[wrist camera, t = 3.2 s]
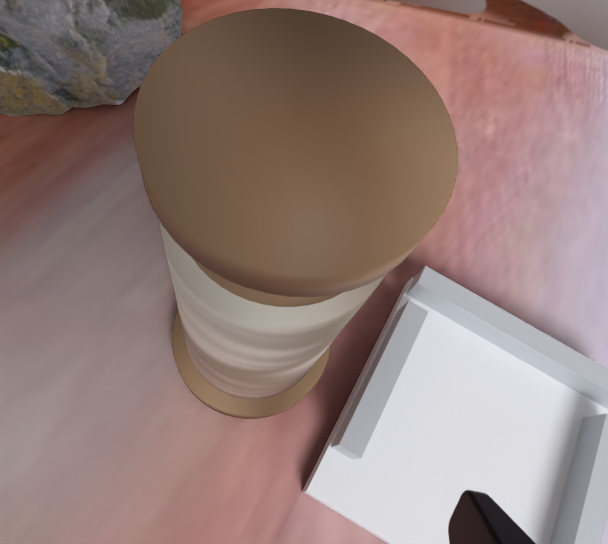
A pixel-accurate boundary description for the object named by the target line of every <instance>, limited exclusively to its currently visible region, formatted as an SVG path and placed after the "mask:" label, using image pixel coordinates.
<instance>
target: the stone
mask: <svg viewBox="0 0 608 544" xmlns="http://www.w3.org/2000/svg"><path fill="white" fill-rule="evenodd" d="M181 21H182V8H181V4H180V1H179V0H0V113H1V114H4V115H9V116H23V115H35V114H52V115H62V114H64V113H65V112H67V111H68V110H70V109H71V108H73V107H83V108H87V107H93V106H98V105H102V104H111V105H120V104H121V103H123V102H124V101H125V100H126V99H127V98H128V97H129V95H130V94H131V93H132V92H133V91H134V90H135V89H137V88H138V87H139V86H141V84H142V82H143V80H144V78H145V76H146V74H147V72H148V71H149V69H150V68H151V66H152V65H153V64H154V62H155V61H156V59H157V58H158V57H159V56H160V55H161V54H162V53H163V52H164V51H165V50H166V49H167V48H168V47H169V46H170V45H171V44H172V43H173V42H174V41H176V40H177V39H178V38H180V37H181Z"/></svg>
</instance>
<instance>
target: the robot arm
mask: <svg viewBox="0 0 608 544" xmlns="http://www.w3.org/2000/svg"><path fill="white" fill-rule="evenodd" d="M448 535H449V543H450V544H536V543H535V542H534V541H533V540H532V539H531V538H530V537H529V536H528V535H527V534H526V533H525V532H524V531H523V530H522V529H521V528H520V527H519V526H518V525H517V524H516V523H515V522H514V521H513V520H512V519H511V517H510V516H509V515H508V514H507V513H506V512H505V511H504V510H503V509H502V508H501V507H500V506H499V505H498V504H497V503H496V502H495V501H494V500H493V499H492V498H491V497H490V496H489V495H488V494H486V493H483V492H478V491H473V490H465V491H464V492H463V493H462V495H461V497H460V499H459V501H458V503H457V505H456V507H455V509H454V511H453V514H452V516H451V518H450V521H449V525H448Z"/></svg>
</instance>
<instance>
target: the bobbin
mask: <svg viewBox="0 0 608 544" xmlns="http://www.w3.org/2000/svg"><path fill="white" fill-rule="evenodd" d="M133 131H134V142H135V147H136V152H137V157H138V161H139V165H140V169H141V173H142V177H143V181H144V185H145V189H146V192H147V195H148V198H149V200H150V203H151V206H152V208H153V210H154V211H155V213H156V215H157V217H158V219H159V225H160V230H161V234H162V239H163V243H164V248H165V252H166V257H167V261H168V265H169V270H170V274H171V279H172V283H173V287H174V292H175V296H176V301H177V305H178V311H177V314H176V316H175V320H174V325H173V332H172V346H173V353H174V358H175V361H176V364H177V367H178V369H179V372H180V375H181V376H182V378H183V380H184V382H185V384H186V385H187V387H188V388H189V389H190V391H191V392H192V393H193V394H194V395H195V396H196V397H197V398H198V399H199V400H200V401H202V402H203V403H204V404H205V405H207V406H208V407H210V408H212V409H213V410H215V411H218V412H220V413H222V414H225V415H228V416H232V417H237V418H244V419H257V418H263V417H269V416H272V415H276V414H278V413H281V412H283V411H285V410H287V409H289V408H290V407H292V406H294V405H295V404H296V403H298V402H299V401H300V400H301V399H303V398H304V397H305V396H306V395H307V394H308V393H309V391H310V390H311V389H312V388H313V387H314V386H315V385H316V383H317V382H318V380H319V379H320V377H321V375H322V373H323V371H324V370H325V367H326V364H327V361H328V358H329V353H330V345H331V343H332V342H333V341H334V339H335V338H336V337H337V336H338V334H339V333H340V332H341V331H342V329H343V328H344V327H345V326H346V325H347V323H348V322H349V321H350V320H351V318H352V317H353V316H354V315H355V313H356V312H357V311H358V310H359V309H360V307H361V306H362V305H363V304H364V302H365V301H366V300H367V299H368V297H369V296H370V295H371V294H372V293H373V291H374V290H375V289H376V288H377V286H378V285H379V284H380V282H381V281H382V280H383V278H384V277H385V275H386V274H388V273H389V272H390V271H392V270H393V269H394V268H396V267H397V266H398V265H400V264H401V263H402V262H403V261H404V260H405V259H406V258H407V257H408V256H409V255H410V254H411V253H412V252H413V250H414V249H415V248H416V247H417V246H418V244H419V243H420V242H421V241H422V240H423V238H424V237H425V236H426V235H427V234H428V233H429V231H430V230H431V229H432V228H433V227H434V225H435V224H436V222H437V221H438V219H439V218H440V217H441V215H442V214H443V212H444V210H445V208H446V206H447V204H448V202H449V200H450V198H451V195H452V192H453V189H454V185H455V182H456V176H457V168H458V147H457V141H456V136H455V130H454V127H453V124H452V121H451V118H450V115H449V113H448V111H447V109H446V107H445V105H444V102H443V100H442V99H441V97H440V95H439V94H438V92H437V91H436V89H435V88H434V86H433V84H432V83H431V82H430V81H429V80H428V78H427V77H426V76H425V75H424V73H423V72H422V71H421V70H420V69H419V68H418V67H417V66H416V65H415V64H414V63H413V62H412V61H411V60H410V59H409V58H408V57H407V56H405V55H404V54H403V53H402V52H400V51H399V50H398V49H397V48H395V47H394V46H393V45H391V44H390V43H388V42H386V41H385V40H383V39H382V38H380V37H379V36H377V35H375V34H373V33H371V32H369V31H368V30H366V29H364V28H362V27H359V26H357V25H354V24H352V23H350V22H347V21H345V20H342V19H338V18H335V17H332V16H329V15H325V14H320V13H316V12H311V11H305V10H296V9H281V8H268V9H253V10H247V11H241V12H236V13H232V14H228V15H225V16H221V17H218V18H215V19H213V20H210V21H208V22H206V23H203V24H201V25H199V26H197V27H195V28H194V29H192V30H190V31H188V32H187V33H185V34H184V35H182V36H181V37H180V38H178V39H177V40H176V41H174V42H173V43H172V44H171V45H170V46H169V47H168V48H167V49H166V50H165V51H164V52H163V53H162V54H161V55H160V56H159V57H158V58H157V59H156V61H155V62H154V64H153V65H152V66H151V68H150V69H149V71H148V72H147V74H146V76H145V78H144V80H143V82H142V84H141V87H140V90H139V93H138V96H137V99H136V103H135V110H134V117H133Z"/></svg>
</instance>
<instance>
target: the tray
mask: <svg viewBox="0 0 608 544" xmlns="http://www.w3.org/2000/svg"><path fill="white" fill-rule="evenodd" d="M465 490H473V491H478V492H483V493H486V494H488V495H489V496H490V497H491V498H492V499H493V500H494V501H495V502H496V503H497V504H498V505H499V506H500V507H501V508H502V509H503V510H504V511H505V512H506V513H507V514H508V515H509V516H510V517H511V519H512V520H513V521H514V522H515V523H516V524H517V525H518V526H519V527H520V528H521V529H522V530H523V531H524V532H525V533H526V534H527V535H528V536H529V537H530V538H531V539H532V540H533V541H534V542H535V543H536V544H601V540H602V536H603V531H604V527H605V523H606V518H607V514H608V369H607V368H605V367H603V366H602V365H600V364H598V363H596V362H595V361H593V360H591V359H589V358H588V357H586V356H584V355H582V354H580V353H579V352H577V351H575V350H573V349H572V348H570V347H568V346H566V345H565V344H563V343H561V342H559V341H558V340H556V339H554V338H552V337H550V336H549V335H547V334H545V333H543V332H542V331H540V330H538V329H536V328H535V327H533V326H531V325H529V324H528V323H526V322H524V321H522V320H520V319H519V318H517V317H515V316H513V315H512V314H510V313H508V312H506V311H505V310H503V309H501V308H499V307H498V306H496V305H494V304H492V303H490V302H489V301H487V300H485V299H483V298H482V297H480V296H478V295H476V294H475V293H473V292H471V291H469V290H467V289H466V288H464V287H462V286H460V285H459V284H457V283H455V282H453V281H452V280H450V279H448V278H446V277H445V276H443V275H441V274H439V273H437V272H436V271H434V270H432V269H430V268H429V267H427V266H425V267H424V268H423V269H422V270H421V271H420V272H419V273H418V274H417V275H416V276H415V277H414V278H413V277H412V278H411V279H410V280H409V281H408V282H407V283H406V284H405V285H404V287H403V289H402V291H401V293H400V295H399V297H398V299H397V301H396V303H395V306H394V308H393V310H392V312H391V314H390V316H389V318H388V320H387V322H386V324H385V326H384V328H383V330H382V332H381V334H380V336H379V338H378V340H377V342H376V344H375V346H374V348H373V350H372V352H371V354H370V356H369V358H368V360H367V362H366V364H365V366H364V368H363V370H362V372H361V374H360V376H359V378H358V380H357V382H356V384H355V386H354V388H353V390H352V392H351V394H350V396H349V398H348V400H347V402H346V404H345V406H344V408H343V410H342V412H341V414H340V416H339V418H338V420H337V422H336V424H335V426H334V428H333V430H332V432H331V434H330V436H329V438H328V440H327V442H326V444H325V446H324V448H323V450H322V452H321V454H320V456H319V458H318V460H317V462H316V464H315V466H314V468H313V470H312V472H311V474H310V476H309V478H308V480H307V482H306V484H305V486H304V489H303V491H302V492H304V493H305V494H307V495H309V496H310V497H312V498H313V499H315V500H317V501H318V502H320V503H322V504H323V505H325V506H327V507H328V508H330V509H332V510H333V511H335V512H336V513H338V514H340V515H341V516H343V517H345V518H346V519H348V520H350V521H351V522H353V523H355V524H356V525H358V526H360V527H361V528H363V529H364V530H366V531H368V532H369V533H371V534H373V535H374V536H376V537H378V538H379V539H381V540H383V541H384V542H386V543H387V544H450V543H449V535H448V525H449V521H450V518H451V516H452V514H453V511H454V509H455V507H456V505H457V503H458V501H459V499H460V497H461V495H462V493H463V492H464V491H465Z"/></svg>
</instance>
